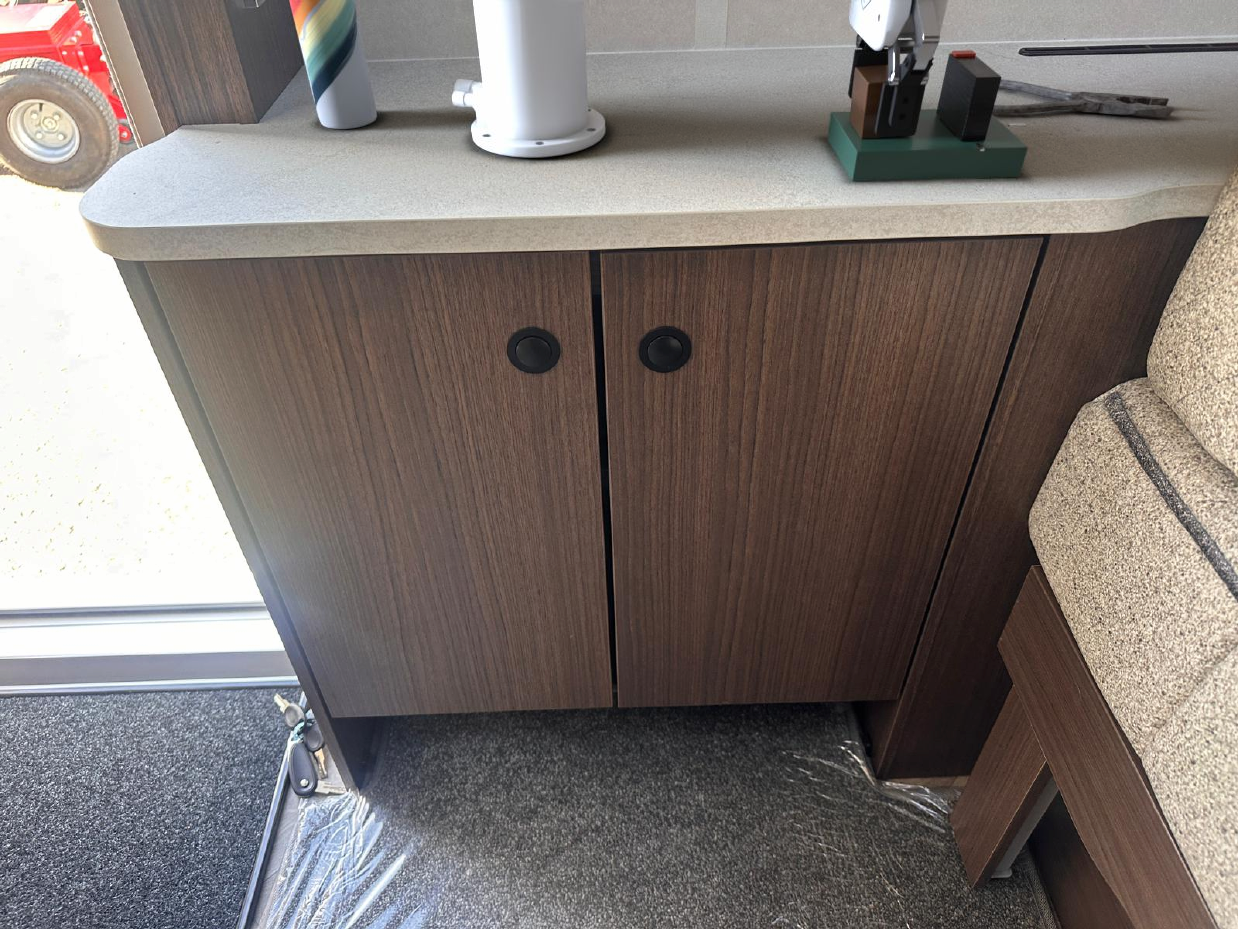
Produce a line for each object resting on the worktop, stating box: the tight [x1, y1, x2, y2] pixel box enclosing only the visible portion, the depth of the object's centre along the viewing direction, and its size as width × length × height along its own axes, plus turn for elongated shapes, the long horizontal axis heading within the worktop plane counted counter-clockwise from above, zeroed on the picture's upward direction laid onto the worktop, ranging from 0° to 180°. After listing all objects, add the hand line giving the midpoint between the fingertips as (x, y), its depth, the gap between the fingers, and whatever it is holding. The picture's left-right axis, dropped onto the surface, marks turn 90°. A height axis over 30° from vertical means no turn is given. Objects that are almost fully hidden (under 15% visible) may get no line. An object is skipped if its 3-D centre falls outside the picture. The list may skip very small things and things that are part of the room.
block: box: [849, 63, 915, 139], centre depth 70 cm, size 4×4×4 cm
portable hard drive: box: [936, 49, 1002, 141], centre depth 70 cm, size 7×2×5 cm, turn 1°
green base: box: [826, 105, 1029, 182], centre depth 72 cm, size 16×11×3 cm
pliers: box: [992, 78, 1174, 118], centre depth 84 cm, size 10×1×20 cm
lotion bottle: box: [288, 0, 378, 130], centre depth 77 cm, size 6×6×20 cm
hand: (879, 115), depth 71 cm, fingers open, 9 cm apart
